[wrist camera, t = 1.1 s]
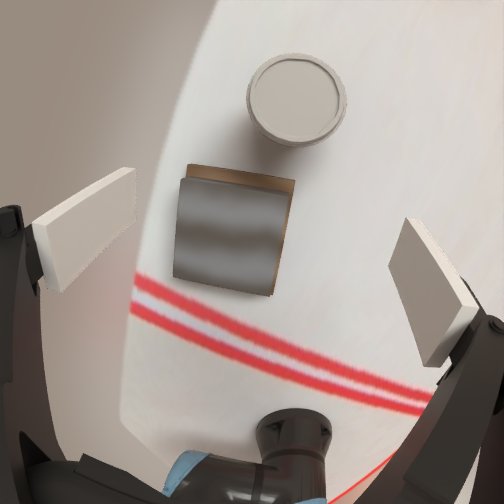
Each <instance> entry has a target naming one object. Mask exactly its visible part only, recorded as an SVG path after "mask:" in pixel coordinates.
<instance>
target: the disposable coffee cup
mask: <svg viewBox="0 0 504 504" xmlns="http://www.w3.org/2000/svg"><path fill="white" fill-rule="evenodd" d="M246 101H247V108H248V111H249V114H250V117H251V119H252V121H253V122H254V124H255V125H256V127H257V128H258V129H259V130H260V131H261V132H262V133H263V134H264V135H265V136H267V137H268V138H269V139H271V140H272V141H275V142H277V143H279V144H282V145H286V146H291V147H306V146H311V145H315V144H318V143H320V142H322V141H324V140H326V139H327V138H329V137H330V136H331V135H332V134H333V133H334V132H335V131H336V130H337V129H338V127H339V126H340V125H341V123H342V121H343V119H344V116H345V113H346V107H347V98H346V92H345V88H344V85H343V83H342V81H341V79H340V77H339V76H338V75H337V73H336V72H335V71H334V70H333V69H332V68H331V67H330V66H329V65H328V64H326V63H325V62H323V61H321V60H320V59H318V58H315V57H313V56H310V55H306V54H298V53H291V54H284V55H279V56H277V57H274V58H272V59H270V60H268V61H267V62H265V63H264V64H262V65H261V66H260V67H259V68H258V69H257V71H256V72H255V73H254V75H253V76H252V78H251V80H250V83H249V85H248V89H247V98H246Z"/></svg>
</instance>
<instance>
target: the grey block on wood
mask: <svg viewBox="0 0 504 504" xmlns="http://www.w3.org/2000/svg"><path fill="white" fill-rule="evenodd" d="M294 185H295V180H290V179H285V178H280V177H274V176H268V175H263V174H257V173H251V172H245V171H238V170H232V169H225V168H218V167H211V166H204V165H197V164H188V165H187V173H186V178H183V179H181V182H180V192H179V201H178V212H177V223H176V235H175V249H174V264H173V277H175V278H179V279H184V280H189V281H193V282H198V283H203V284H207V285H212V286H217V287H222V288H227V289H232V290H237V291H242V292H247V293H252V294H257V295H263V296H268V297H270V295H273V292H274V287H275V282H276V277H277V272H278V268H279V263H280V258H281V253H282V248H283V243H284V238H285V232H286V227H287V222H288V217H289V212H290V207H291V201H292V196H293V191H294Z"/></svg>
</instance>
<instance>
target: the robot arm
mask: <svg viewBox="0 0 504 504" xmlns="http://www.w3.org/2000/svg"><path fill="white" fill-rule="evenodd" d="M136 217H137V216H136V169H134V168H126V167H122V168H120V169H119V170H117V171H115V172H113V173H111V174H109V175H108V176H106V177H104V178H102V179H101V180H99V181H97V182H95V183H93V184H92V185H90V186H88V187H87V188H85V189H83V190H81V191H80V192H78V193H76V194H75V195H73V196H71V197H70V198H68V199H67V200H65V201H64V202H62V203H60V204H59V205H57V206H56V207H54V208H52V209H51V210H49V211H48V212H47V213H45V214H43V215H42V216H40V217H39V218H37V219H36V220H34V221H33V222H32V223H31V224H30V225H29V226H27V227H26V228H24V223H23V218H22V212H21V207H20V206H18V205H9V206H5V207H2V208H0V504H326V503H327V499H326V483H325V457H326V454H327V451H328V448H329V445H330V443H331V440H332V426H331V423H330V421H329V420H328V419H327V418H326V417H325V416H324V415H322V414H320V413H318V412H315V411H312V410H307V409H285V410H280V411H276V412H274V413H271V414H269V415H267V416H266V417H264V418H263V419H262V420H261V421H260V423H259V425H258V428H257V435H256V437H257V443H258V446H259V450H260V453H261V457H262V464H257V463H252V462H246V461H241V460H236V459H231V458H226V457H222V456H218V455H214V454H212V453H203V452H198V451H193V450H189V451H185V452H184V453H182V454H181V455H180V456H179V457H178V459H177V460H176V462H175V463H174V465H173V467H172V468H171V470H170V472H169V474H168V477H167V479H166V482H165V486H164V488H163V491H162V493H160V492H159V491H157V490H155V489H154V488H152V487H150V486H149V485H147V484H145V483H144V482H142V481H140V480H139V479H137V478H136V477H134V476H133V475H131V474H130V473H128V472H126V471H124V470H121V469H119V468H116V467H113V466H111V465H109V464H106V463H104V462H102V461H99V460H97V459H95V458H93V457H90V456H88V455H86V454H84V453H83V455H82V457H81V459H80V461H79V462H78V461H67V460H66V458H65V456H64V454H63V452H62V450H61V449H60V447H59V445H58V442H57V439H56V435H55V431H54V426H53V421H52V416H51V411H50V406H49V400H48V393H47V387H46V380H45V371H44V362H43V352H42V341H41V340H42V339H41V321H40V287H39V284H38V280H39V279H40V278H41V277H42V276H44V279H45V283H46V286H47V289H50V290H53V291H56V292H59V293H62V292H63V291H64V290H65V289H66V288H67V287H68V286H69V284H70V283H71V282H72V281H73V280H74V279H75V278H76V277H77V276H78V275H79V274H80V273H81V272H82V271H83V270H84V269H85V268H86V267H87V266H88V265H89V264H90V263H91V262H92V261H93V260H94V259H95V258H96V257H97V256H98V255H99V254H100V253H101V252H102V251H103V250H104V249H105V248H106V247H107V246H108V245H109V244H110V243H111V242H112V241H114V240H115V239H116V238H117V237H118V236H119V235H120V234H121V233H122V232H123V231H124V230H125V229H126V228H127V227H129V226H130V225H131V224H132V223H133V222H134V221H135V220H136V219H137V218H136ZM388 267H389V270H390V272H391V275H392V277H393V280H394V282H395V285H396V287H397V290H398V292H399V295H400V298H401V300H402V303H403V306H404V309H405V311H406V314H407V317H408V320H409V323H410V326H411V329H412V332H413V334H414V338H415V341H416V344H417V347H418V350H419V353H420V356H421V360H422V363H423V366H424V367H439V368H440V367H441V366H442V365H443V363H444V362H445V360H446V359H447V358H448V356H450V359H451V362H452V364H451V366H450V367H449V368H448V370H447V371H446V372H445V374H444V375H443V376H442V378H441V379H440V380H439V381H438V383H437V384H436V385H438V388H437V390H436V391H435V393H434V395H433V397H432V398H431V400H430V402H429V403H428V405H427V407H426V408H425V410H424V411H423V413H422V415H421V416H420V418H419V419H418V421H417V422H416V424H415V426H414V427H413V429H412V430H411V432H410V433H409V434H408V436H407V437H406V439H405V440H404V442H403V443H402V445H401V446H400V447H399V449H398V450H397V451H396V453H395V454H394V455H393V457H392V458H391V459H390V461H389V462H388V463H387V465H386V466H385V467H384V469H383V470H382V471H381V472H380V473H379V475H378V476H377V477H376V478H375V480H374V481H373V482H372V483H371V484H370V486H369V487H368V488H367V489H366V490H365V491H364V492H363V494H362V495H361V496H360V497H359V498H358V499H357V500H356V501H355V502H354V504H454V502H455V500H456V499H457V497H458V495H459V493H460V491H461V489H462V487H463V485H464V483H465V481H466V478H467V477H468V474H469V472H470V470H471V468H472V466H473V463H474V461H475V458H476V456H477V454H478V451H479V449H480V447H481V449H480V455H479V462H478V466H477V472H476V477H475V481H474V486H473V490H472V494H471V498H470V502H469V504H504V322H502V321H501V320H500V319H499V318H497V317H495V316H492V315H486V313H485V311H484V310H483V308H482V306H481V305H480V303H479V301H478V300H477V298H475V295H474V293H473V292H472V291H471V289H470V287H469V285H468V284H467V282H466V281H465V280H464V279H463V278H461V277H460V276H459V275H458V273H457V272H456V270H455V269H454V267H453V266H452V264H451V263H450V261H449V260H448V258H447V257H446V256H445V254H444V253H443V251H442V250H441V249H440V247H439V246H438V244H437V243H436V242H435V240H434V239H433V238H432V236H431V235H430V234H429V232H428V231H427V230H426V228H425V227H424V226H423V224H422V223H421V222H420V221H419V220H416V219H412V218H408V217H406V218H405V221H404V224H403V227H402V230H401V233H400V236H399V238H398V241H397V244H396V247H395V249H394V252H393V255H392V257H391V260H390V262H389V265H388Z"/></svg>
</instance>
